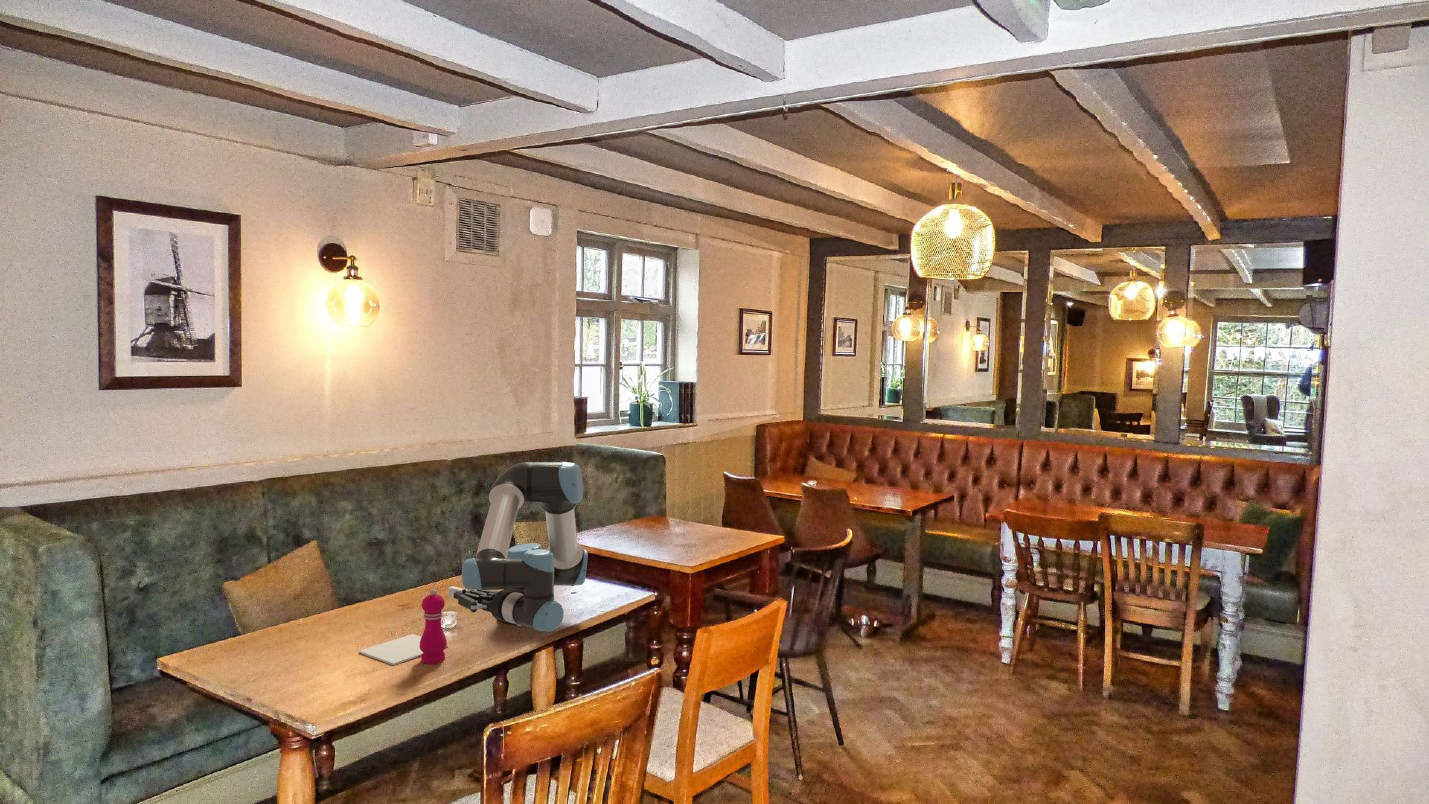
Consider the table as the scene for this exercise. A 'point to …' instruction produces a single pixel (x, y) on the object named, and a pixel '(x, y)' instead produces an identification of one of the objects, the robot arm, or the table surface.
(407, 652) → the grey rubber mat
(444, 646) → the pepper mill
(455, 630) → the table surface
